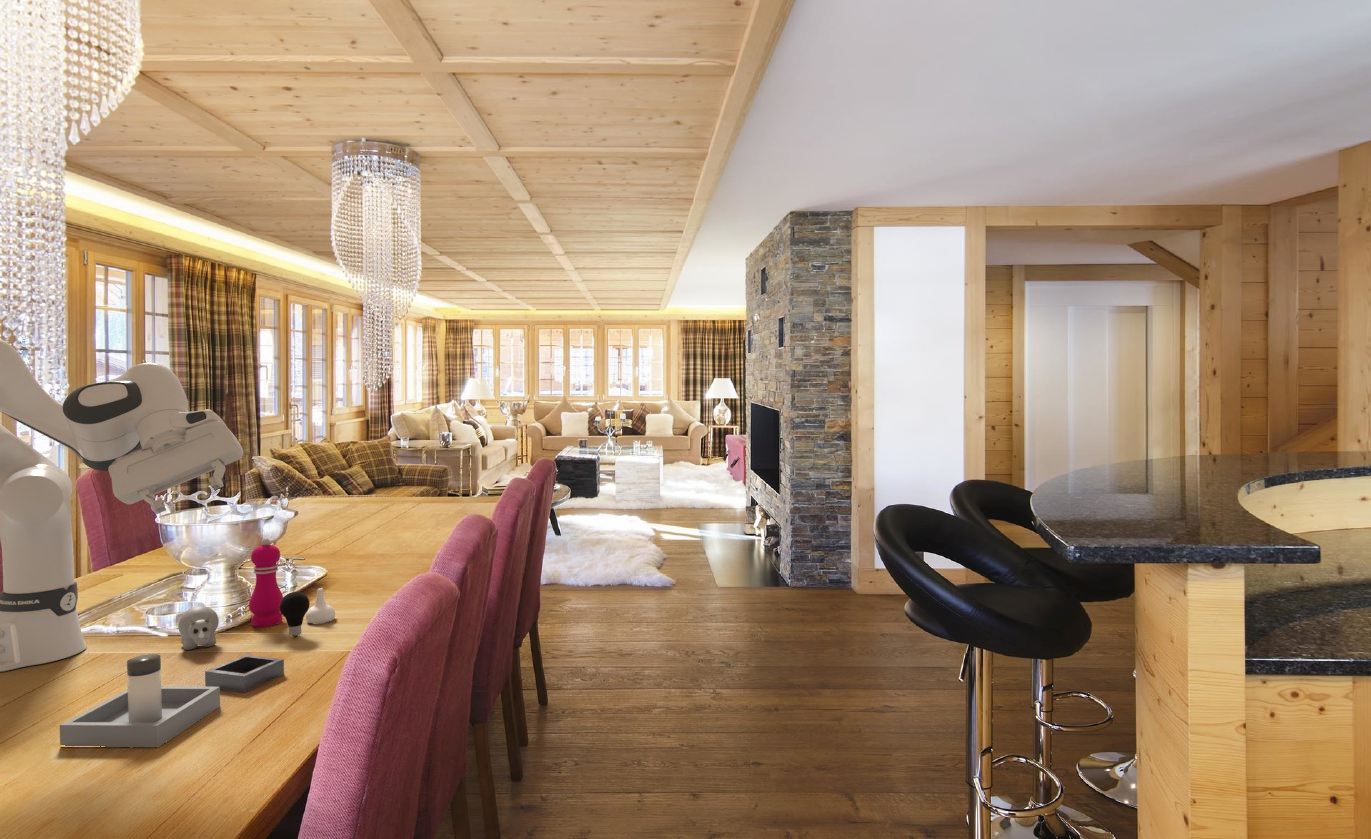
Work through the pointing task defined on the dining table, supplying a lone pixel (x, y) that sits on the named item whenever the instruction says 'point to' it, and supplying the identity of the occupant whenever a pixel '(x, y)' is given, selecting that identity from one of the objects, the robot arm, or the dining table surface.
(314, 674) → the dining table surface
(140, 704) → the salt shaker
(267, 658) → the socket collar
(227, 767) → the dining table surface
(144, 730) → the slate tray
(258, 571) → the pepper mill
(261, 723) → the dining table surface
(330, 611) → the garlic bulb
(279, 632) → the dining table surface
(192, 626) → the chubby cartoon animal
